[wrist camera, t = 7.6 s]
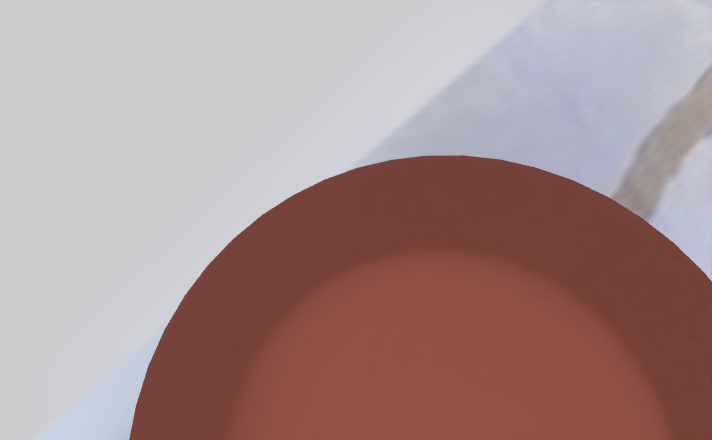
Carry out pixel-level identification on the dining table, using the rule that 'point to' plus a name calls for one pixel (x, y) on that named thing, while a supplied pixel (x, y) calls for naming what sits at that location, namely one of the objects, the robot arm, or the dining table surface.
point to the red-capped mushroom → (439, 317)
